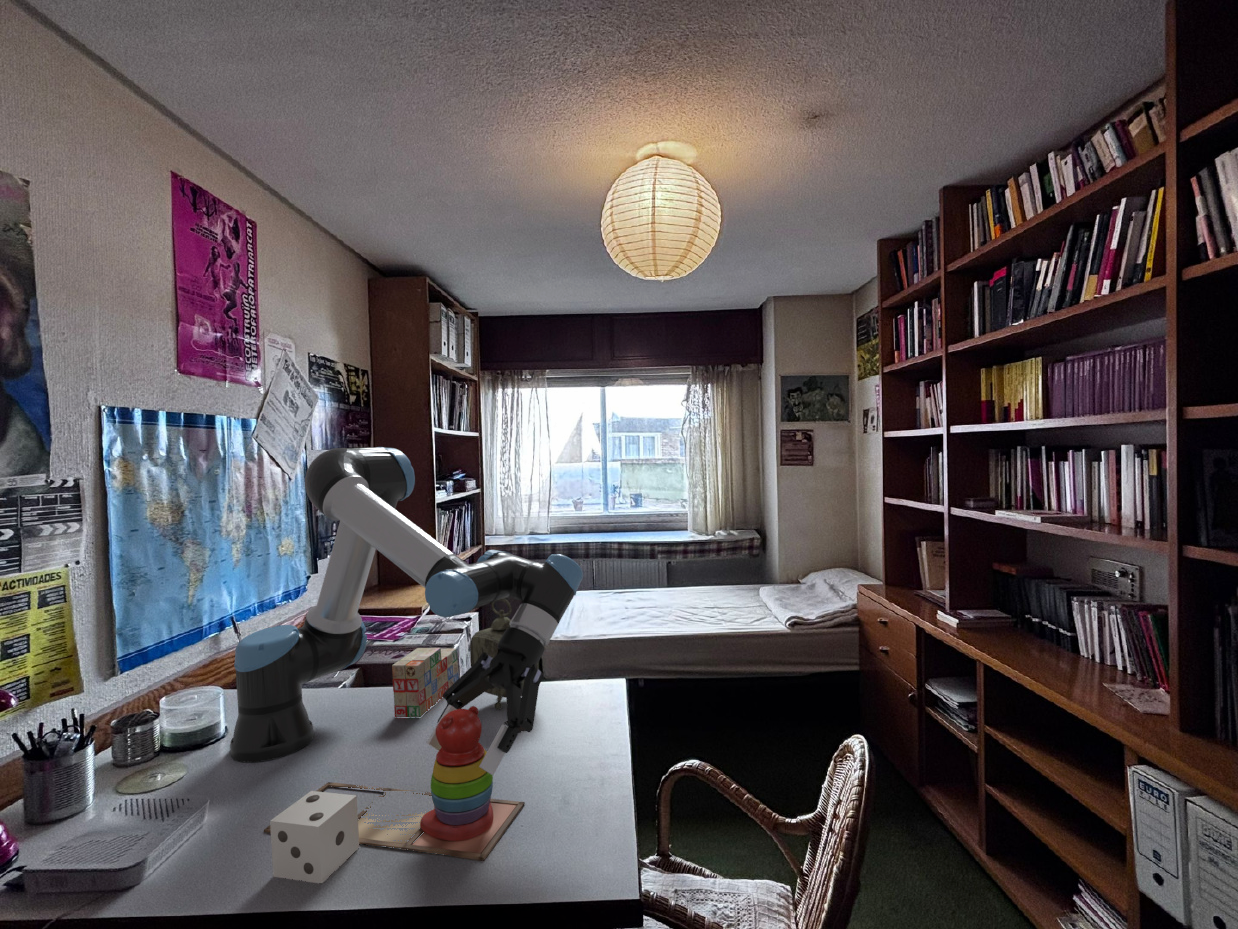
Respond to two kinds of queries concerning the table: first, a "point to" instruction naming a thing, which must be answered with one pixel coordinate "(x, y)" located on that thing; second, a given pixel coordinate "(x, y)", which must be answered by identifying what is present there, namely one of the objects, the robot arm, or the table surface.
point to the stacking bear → (459, 780)
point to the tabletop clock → (491, 645)
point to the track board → (425, 843)
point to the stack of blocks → (423, 679)
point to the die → (314, 836)
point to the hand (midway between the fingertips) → (458, 758)
